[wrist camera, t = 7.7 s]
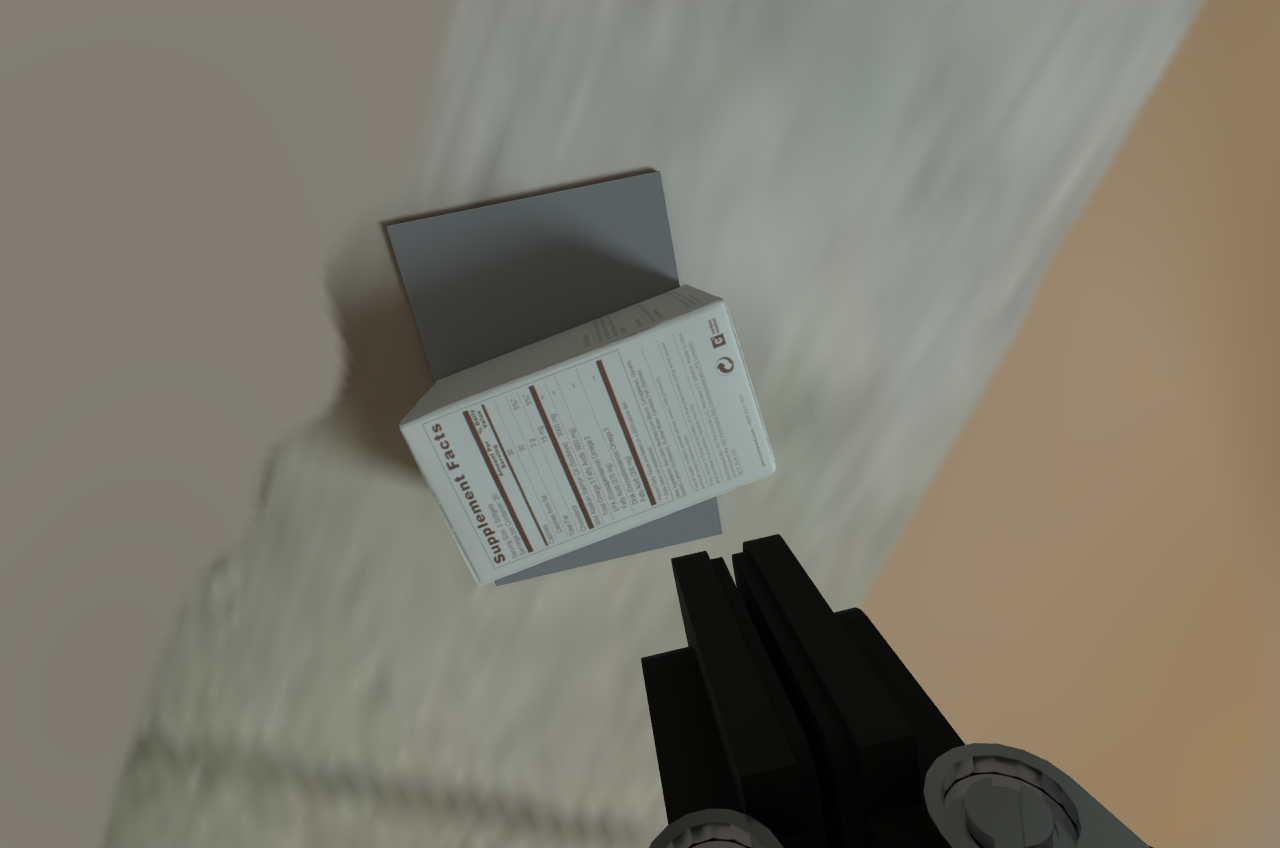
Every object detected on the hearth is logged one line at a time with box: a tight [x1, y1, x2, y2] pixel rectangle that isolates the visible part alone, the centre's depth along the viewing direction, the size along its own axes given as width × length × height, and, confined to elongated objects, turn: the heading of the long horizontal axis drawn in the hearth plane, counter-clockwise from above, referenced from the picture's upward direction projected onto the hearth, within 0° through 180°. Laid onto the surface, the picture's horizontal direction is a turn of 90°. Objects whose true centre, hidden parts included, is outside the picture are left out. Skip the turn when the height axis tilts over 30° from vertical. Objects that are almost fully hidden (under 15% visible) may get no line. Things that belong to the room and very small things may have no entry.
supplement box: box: [399, 284, 776, 586], centre depth 27 cm, size 7×7×13 cm
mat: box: [386, 171, 722, 586], centre depth 30 cm, size 12×18×1 cm, turn 11°
